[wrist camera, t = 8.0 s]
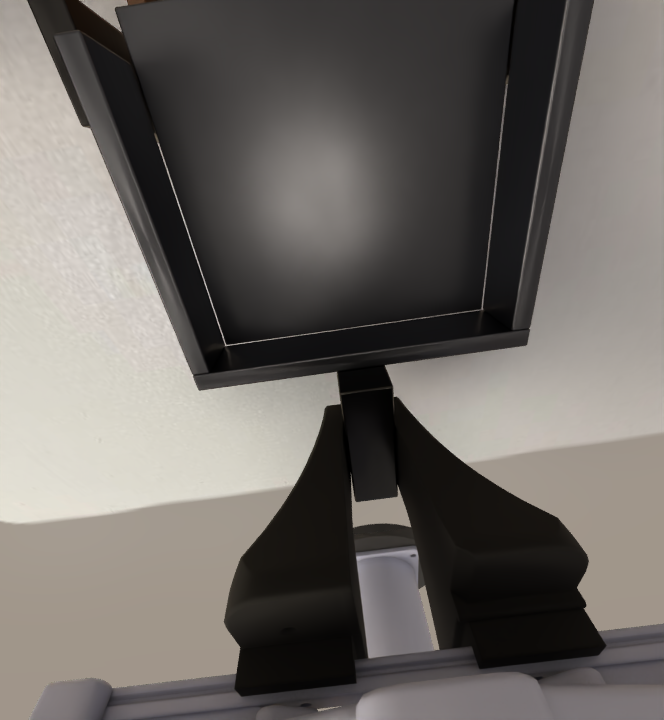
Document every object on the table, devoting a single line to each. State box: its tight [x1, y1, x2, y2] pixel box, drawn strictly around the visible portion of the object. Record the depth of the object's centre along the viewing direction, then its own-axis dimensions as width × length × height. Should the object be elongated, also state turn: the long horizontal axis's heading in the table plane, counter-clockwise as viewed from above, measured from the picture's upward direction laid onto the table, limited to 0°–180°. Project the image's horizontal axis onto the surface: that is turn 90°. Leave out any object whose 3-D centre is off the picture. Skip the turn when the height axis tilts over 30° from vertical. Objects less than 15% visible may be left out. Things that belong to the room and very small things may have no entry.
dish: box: [53, 0, 594, 502], centre depth 10 cm, size 15×11×4 cm
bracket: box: [27, 0, 518, 142], centre depth 9 cm, size 2×13×4 cm, turn 98°
